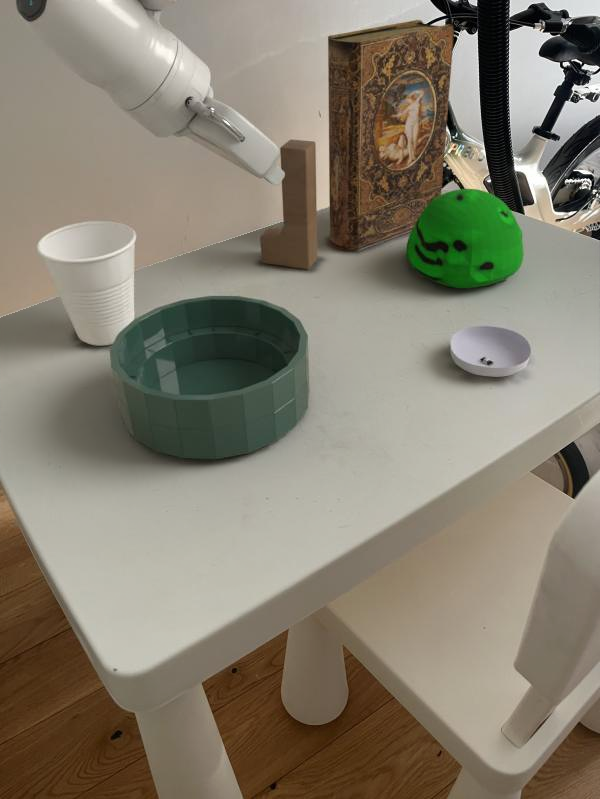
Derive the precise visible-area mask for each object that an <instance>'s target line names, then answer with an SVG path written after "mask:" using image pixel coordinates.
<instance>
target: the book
mask: <svg viewBox="0 0 600 799" xmlns="http://www.w3.org/2000/svg"><path fill="white" fill-rule="evenodd" d="M454 30H455V29H454V25H452V24H444V25H433V24H429V23H428V24H427V23H425V22H424V21H423V20H421V19H415V20H408V21H404V22H397V23H392V24H387V25H381V26H376V27H375V26H374V27H371V28H365V29H360V30H354V31H348V32H342V33H337V34H332V35H328V37H327V57H328V58H327V63H328V64H327V66H328V67H327V71H328V72H327V73H328V74H327V75H328V76H327V77H328V80H327V81H328V83H327V84H328V175H329V176H328V177H329V178H328V181H329V185H328V187H329V188H328V190H329V192H328V194H329V196H328V198H329V199H328V200H329V243H330V245H332V246H333V247H334V248H337V249H339V250H342V251H346V252H350V253H352V252H355V253H357V252H359V251H362V250H364V249H367V248H369V247H372V246H376V245H378V244H381V243H384V242H386V241H389V240H391V239H394V238H397V237H399V236H402V235H405V234H408V233H411V232H412V230H413V228H414V226H415V224H416V222H417V220H418V218H419V216H420V215H421V213H422V212H423V210H424V209H425V208H426V207H427V206H428V204H429V203H430V202H431V201H432V200H433V199H435V198H436V197H438V196H440V195H442V189H443V188H442V187H443V173H444V164H445V163H444V162H445V149H446V139H447V138H446V136H447V126H448V124H447V123H448V111H449V102H450V101H449V100H450V88H451V87H450V86H451V75H452V74H451V73H452V63H453V52H454V51H453V49H454V36H455V35H454V33H455V32H454Z"/></svg>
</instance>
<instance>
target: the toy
mask: <svg viewBox="0 0 600 799" xmlns="http://www.w3.org/2000/svg"><path fill="white" fill-rule="evenodd" d="M405 250H406V252H405V256H406V259H407V261H408V263H409V265H410V266H411V268H412V269H413V270H415V272H416V273H418V274H420V275H421V276H422V277H424V278H426V279H428V280H430V281H432V282H435V283H437V284H440V285H443V286H446V287H448V288H449V287H450V288H454V289H471V288H479V287H485V286H489V285H493V284H496V283H499V282H501V281H505V280H507V279H508V278H510V277H512V276H513V275H515V274H516V273H517V272H518V271H519V269H520V268H521V266H522V264H523V260H524V244H523V230H522V228H521V227H520V225H519V224H518V222H517V219H516V217H515V215H514V213H513V212H512V210H511V208H509V206H508V205H507V204H506V203H505V202H504V201H503V200H502V199H500V198H499V197H497V196H496V195H494V194H492V193H491V192H487V191H486V190H485V191H484V190H482V189H475V188H461V189H454V190H451V191H448V192H446V193H441V195H440V196H438V197H436V198H435V199H433V200H432V201H431V202H430V203H429V204H428V206H427V207H426V208H425V209H424V210H423V212H422V213H421V215H420V216H419V218H418V220H417V222H416V224H415V226H414V228H413V230H412V231H410V234H409V235H408V239H407V243H406V249H405Z"/></svg>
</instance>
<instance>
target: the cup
mask: <svg viewBox="0 0 600 799" xmlns="http://www.w3.org/2000/svg"><path fill="white" fill-rule="evenodd" d="M136 240H137V232H136V230H134V229H133V227H131V226H129V225H128V224H124V223H123V222H122V223H121V222H117V221H109V220H89V221H82V222H76V223H71V224H68V225H65V226H61V227H59V228H56V229H54V230H52V231H50V232H48V233H46V234H45V235H44V236H42V237H41V238H40V239H39V241H38V242H37V244H36V251H37V253H38V255H39V256H41V258H42V259H43V262H44V264H45V266H46V269H47V271H48V273H49V275H50V277H51V279H52V282H53V284H54V286H55V288H56V290H57V293H58V295H59V297H60V300H61V302H62V304H63V306H64V308H65V310H66V313H67V315H68V317H69V319H70V322H71V324H72V326H73V329H74V331H75V333H76V336H77V338H78V339H79V340H80V341H82V342H84V343H86V344H88V345H91V346H97V347H98V346H99V347H100V346H101V347H102V346H112V344H113V343H114V341H115V339H116V337H117V335H118V333H119V332H120V331H122V330H123V329H124V328H125V327H126V326H127V325H128V324H130V323H131V322H132V321H133V320H135V243H136Z"/></svg>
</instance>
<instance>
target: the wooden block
mask: <svg viewBox="0 0 600 799" xmlns="http://www.w3.org/2000/svg"><path fill="white" fill-rule="evenodd" d="M316 147H317V146H316V141H314V140H302V139H289V140H288V141H287V142H285V143H284V144H282V146H280V148H279V150H280V155H279V156H280V169H282V170H283V171H284V173H285V176H284V178H283V180H282V181H281V195H282V196H281V197H282V217H283V221H282V222H283V226H282V227H275V226H269V227H267V229H266V230H265V231H263V233H262V234H260V236H259V243H260V257H261V263H262V264H266V265H275V266H282V267H289V268H295V269H303V270H310V269H311V268H312V267H313V265H314V264H315V263H316V261H318V216H317V214H318V212H317V210H318V209H317V207H318V206H317V157H316V156H317V154H316V153H317V150H316Z"/></svg>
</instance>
